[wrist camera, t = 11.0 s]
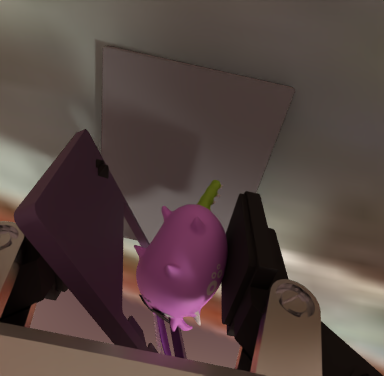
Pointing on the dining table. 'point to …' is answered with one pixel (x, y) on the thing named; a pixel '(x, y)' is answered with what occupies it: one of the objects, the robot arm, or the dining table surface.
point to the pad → (184, 133)
